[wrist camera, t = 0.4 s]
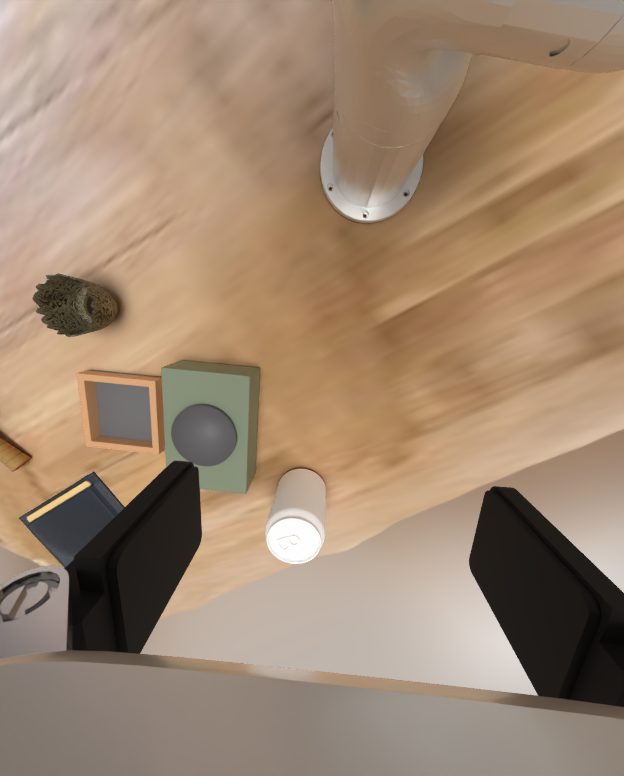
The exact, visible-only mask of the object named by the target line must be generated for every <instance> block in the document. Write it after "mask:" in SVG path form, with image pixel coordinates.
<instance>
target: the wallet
mask: <svg viewBox="0 0 624 776" xmlns="http://www.w3.org/2000/svg"><path fill="white" fill-rule="evenodd" d="M124 508H125V507H124V506H123V505H122V504H121V503H120V501H119V500H118V499H117V498H116V497H115V495H114V494H113V493H112V492H111V491H110V489H109V488H108V487H107V486H106V485H105V484H104V483H103V481H102V480H101V479H100V478H99V477H98V476H97V475H96V473H95V472H93V473H91V474H89V475H87V476H85V477H84V478H82V479H81V480H79V481H78V482H76V483H75V484H73V485H72V486H70V487H68V488H67V489H65V490H64V491H62V492H60V493H59V494H57V495H55V496H54V497H52V498H51V499H49V500H47V501H46V502H44V503H42V504H41V505H39V506H38V507H36V508H34V509H33V510H31V511H29V512H28V513H26V514H25V515H23V516H21V517H20V518H19V519H20V520H21V521H22V522H23V523H24V524H25V525H26V526H27V528H28V529H29V530H30V531H31V532H32V533H33V535H34V536H35V537H36V538H37V539H38V540H39V541H40V542H41V543H42V544H43V545H44V546H45V547H46V549H47V550H48V551H49V552H50V553H51V554H52V555H53V556H54V557H55V558H56V559H57V560H58V561H59V562H60V564H61V565H62V566H63V567H64V568H65V567H66V566H67V565H68V564H70V563H71V562H72V561H73V560H74V556H75V555H76V554H77V553H78V552H79V551H80V550H81V549H82V548H83V547H84V546H86V545H87V544H88V543H89V542H90V541H91V540H92V539H93V538H94V537H95V536H96V535H97V534H98V533H99V532H100V531H101V530H102V529H103V528H104V527H105V526H106V525H107V524H108V523H109V522H110V521H111V520H112V519H113V518H115V517H116V516H117V515H118V514H119V513H120V512H121V511H122V510H123V509H124Z"/></svg>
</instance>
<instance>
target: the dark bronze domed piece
mask: <svg viewBox="0 0 624 776" xmlns="http://www.w3.org/2000/svg"><path fill="white" fill-rule="evenodd" d="M46 277H47V279H49V280H47V281H46V283H45V284H38V285H37V286H36V288H37V289H38V290H39V291H37V292H36V293H35V294H34V296H33V300H34V302H35V303H36V304H38V305H39V308H38V309H37V310H36V312H37V313H40V314H43V315H46V316H44V317H43V318H42V319H41V321H42V322H43V323H45V324H48V326H47V328H50V329H54V330H59V331H58V333H57V334H65V335H66V336H68V337H73V336H78V335H82V334H86V333H90V332H94V331H97V330H100V329H102V328H104V327H106V326H108V325H109V324H110V323H111V322H112V320H113V318H114V317H115V316H116V315H117V313H118V309H119V308H118V304H117V302H116V300H115V299H114V298H113V297H112V296H110V294H109V293H108V292H107V291H106V290H105V289H103V288H102V287H100V286H98V285H96V284H94V283H91V282H88V281H85V280H81V279H78V278H74V277H70V276H66V275H63V274H56V275H46Z"/></svg>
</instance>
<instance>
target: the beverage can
mask: <svg viewBox="0 0 624 776" xmlns="http://www.w3.org/2000/svg"><path fill="white" fill-rule="evenodd" d="M325 516H326V487H325V484H324V482H323V480H322V479H321V477H320V476H319V475H318V474H316V473H315V472H313V471H311V470H307V469H294V470H291V471H289V472H287V473H286V474H284V475H283V476H282V478H281V479H280V481H279V484H278V487H277V490H276V494H275V497H274V500H273V504H272V507H271V511H270V514H269V517H268V521H267V524H266V529H265V535H266V539H267V545H268V548H269V550H270V551H271V553H272V554H273V555H274V556H275V557H277V558H278V559H280V560H281V561H284V562H287V563H291V564H301V563H305V562H308V561H310V560H311V559H313V558H314V557H315V556H316V555H317V554H318V552H319V550H320V548H321V547H322V545H323V543H324V539H325Z"/></svg>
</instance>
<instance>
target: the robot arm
mask: <svg viewBox="0 0 624 776" xmlns="http://www.w3.org/2000/svg"><path fill="white" fill-rule="evenodd" d="M331 3H332V10H333V19H334V37H335V65H334V124H333V127H332V128H331V130H330V132H329V134H328V136H327V138H326V140H325V143H324V146H323V149H322V154H321V160H320V174H321V182H322V186H323V189H324V192H325V194H326V196H327V199H328V200H329V202H330V203H331V205H332V206H333V208H334V209H335V210H337V211H338V212H339V213H340V214H341V215H342V216H344V217H346V218H347V219H349V220H352V221H355V222H359V223H376V222H380V221H383V220H386V219H387V218H389V217H391V216H393V215H395V214H396V213H397V212H398V211H400V210H401V209H402V208H403V207H404V206H405V204H406V203H407V202H408V201H409V200H410V198H411V197H412V195H413V194H414V192H415V190H416V188H417V186H418V184H419V181H420V178H421V175H422V169H423V153H424V151H425V150H426V148H427V146H428V145H429V143H430V142H431V140H432V138H433V137H434V135H435V133H436V132H437V130H438V128H439V127H440V125H441V123H442V122H443V120H444V118H445V117H446V115H447V113H448V112H449V110H450V108H451V106H452V104H453V103H454V101H455V99H456V98H457V96H458V94H459V92H460V89H461V87H462V85H463V83H464V80H465V78H466V74H467V71H468V68H469V64H470V60H471V56H472V54H474V55H480V54H483V55H489V56H494V57H499V58H504V59H509V60H515V61H520V62H525V63H530V64H535V65H540V66H546V67H551V68H556V69H565V70H570V71H576V72H586V73H608V72H615V71H620V70H623V69H624V0H331ZM329 188H332V191H329V190H328V189H329ZM404 193H405V194H406V195H407V196H406V197H405V196H404V195H403V194H404ZM364 214H365V215H366V216H367V217H366V218H363V215H364ZM201 537H202V528H201V507H200V486H199V469H198V467H194V464H193V463H192V462H187V461H173V462H172V463H171V464H169V465H168V466H167V467H166V468H165V469H164V470H163V471H162V472H161V473H160V474H159V475H158V476H157V477H156V478H155V479H154V480H153V481H152V482H151V483H150V484H149V485H148V486H147V487H146V488H145V489H144V490H143V491H141V492H140V493H139V494H138V495H137V496H136V497H135V498H134V499H133V500H132V501H131V502H130V503H129V504H128V505H127V506H126V507H125V508H124V509H123V510H122V511H121V512H120V513H119V514H118V515H117V516H116V517H115V518H113V519H112V520H111V521H110V522H109V523H108V524H107V525H106V526H105V527H104V528H103V529H102V530H101V531H100V532H99V533H98V534H97V535H96V536H95V537H94V538H93V539H92V540H91V541H90V542H89V543H88V544H87V545H86V546H84V547H83V548H82V549H81V550H80V551H79V552H78V553H77V554H76V555H75V556H74V560H73V561H72V562H71V563H70V564H68V565H67V566H66V567H65V568H62V567H59V566H42V567H38V568H35V569H31V570H28V571H25V572H23V573H21V574H18V575H16V576H14V577H12V578H10V579H9V580H7V581H5V582H4V583H2V584H0V776H624V593H623V592H622V591H621V590H620V589H619V588H618V587H617V586H616V585H615V584H614V583H613V582H612V581H611V580H610V579H608V577H606V576H605V575H604V574H603V573H602V572H601V571H600V570H599V569H598V568H597V567H596V566H595V565H594V564H593V563H592V562H591V561H590V560H589V559H588V558H587V557H586V556H585V555H584V554H583V553H582V552H580V551H579V550H578V549H577V548H576V547H575V546H574V545H573V544H572V543H571V542H570V541H569V540H568V539H567V538H566V537H565V536H564V535H563V534H562V533H561V532H560V531H559V530H558V529H557V528H556V527H554V526H553V525H552V524H551V523H550V522H549V521H548V520H547V519H546V518H545V517H544V516H543V515H542V514H541V513H540V512H539V511H538V510H537V509H536V508H535V507H534V506H533V505H532V504H531V503H529V502H528V501H527V500H526V499H525V498H524V497H523V496H522V495H521V494H520V493H519V492H518V491H517V490H516V489H514V488H507V487H496V486H494V487H492V488H491V489H490V491H486V492H485V495H484V499H483V503H482V507H481V512H480V516H479V520H478V524H477V528H476V533H475V537H474V541H473V545H472V550H471V554H470V558H469V565H470V569H471V572H472V574H473V576H474V577H475V580H476V581H477V583H478V585H479V587H480V589H481V591H482V592H483V594H484V596H485V598H486V600H487V602H488V603H489V605H490V607H491V609H492V611H493V613H494V615H495V617H496V618H497V620H498V622H499V624H500V626H501V628H502V629H503V631H504V633H505V635H506V637H507V639H508V640H509V642H510V644H511V646H512V648H513V650H514V651H515V653H516V655H517V657H518V659H519V661H520V663H521V664H522V666H523V668H524V670H525V672H526V674H527V676H528V678H529V679H530V681H531V683H532V685H533V687H534V689H535V690H536V692H537V694H538V696H534V695H526V694H517V693H508V692H499V691H491V690H481V689H474V688H465V687H456V686H448V685H439V684H430V683H421V682H411V681H403V680H393V679H383V678H375V677H366V676H357V675H347V674H338V673H329V672H320V671H310V670H301V669H291V668H281V667H272V666H262V665H252V664H243V663H232V662H223V661H213V660H203V659H193V658H184V657H172V656H159V655H148V654H140V652H141V651H142V649H143V647H144V645H145V643H146V642H147V640H148V638H149V636H150V634H151V632H152V631H153V629H154V627H155V625H156V623H157V622H158V620H159V618H160V616H161V614H162V613H163V611H164V609H165V607H166V605H167V604H168V602H169V600H170V598H171V596H172V595H173V593H174V591H175V589H176V587H177V585H178V584H179V582H180V580H181V578H182V576H183V575H184V573H185V571H186V569H187V567H188V566H189V564H190V562H191V560H192V558H193V557H194V555H195V553H196V551H197V549H198V547H199V545H200V542H201Z"/></svg>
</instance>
